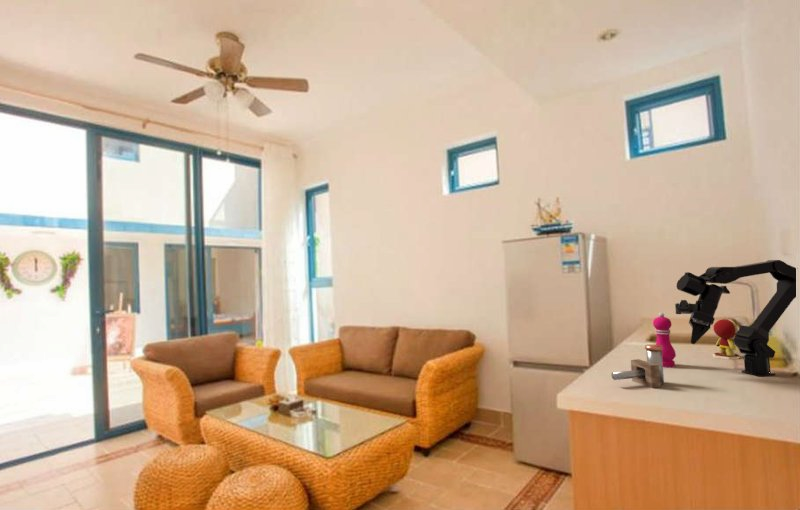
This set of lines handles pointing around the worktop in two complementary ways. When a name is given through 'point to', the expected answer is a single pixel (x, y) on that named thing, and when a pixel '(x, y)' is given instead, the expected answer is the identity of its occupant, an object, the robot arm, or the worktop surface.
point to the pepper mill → (664, 339)
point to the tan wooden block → (647, 373)
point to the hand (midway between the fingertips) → (692, 343)
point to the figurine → (725, 339)
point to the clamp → (652, 356)
